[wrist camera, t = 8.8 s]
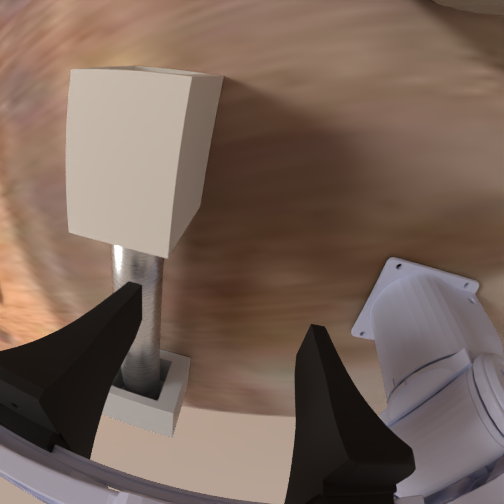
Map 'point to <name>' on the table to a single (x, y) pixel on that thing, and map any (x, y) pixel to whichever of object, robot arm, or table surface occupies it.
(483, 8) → the canister
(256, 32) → the table surface
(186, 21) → the table surface
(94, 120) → the sleeve
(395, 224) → the table surface
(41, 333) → the table surface
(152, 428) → the socket
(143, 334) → the tube
